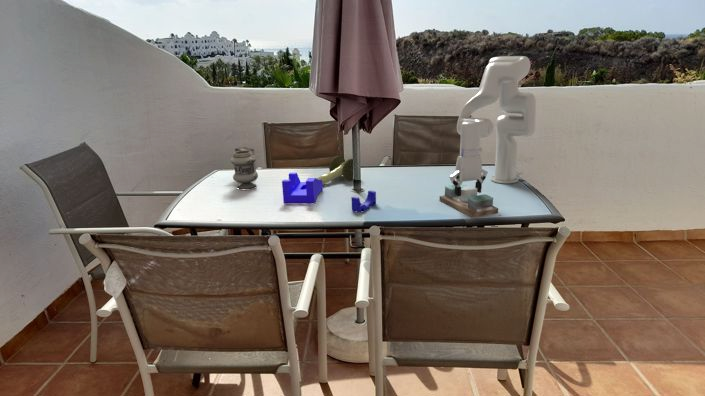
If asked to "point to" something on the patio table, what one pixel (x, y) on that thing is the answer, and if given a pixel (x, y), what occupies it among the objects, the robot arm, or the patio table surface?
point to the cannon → (338, 170)
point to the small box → (467, 193)
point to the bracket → (300, 189)
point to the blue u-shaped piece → (367, 204)
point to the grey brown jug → (247, 149)
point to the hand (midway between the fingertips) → (468, 193)
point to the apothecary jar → (244, 169)
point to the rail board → (466, 210)
